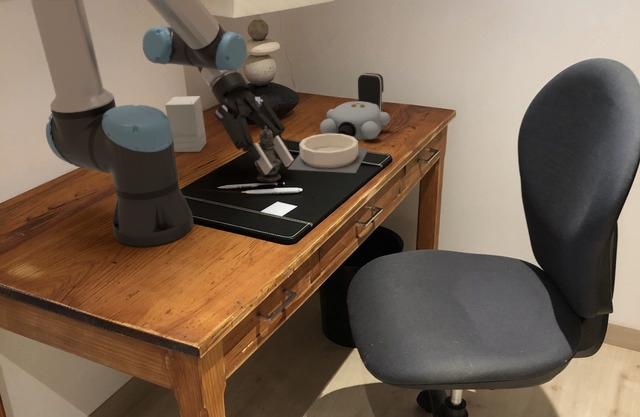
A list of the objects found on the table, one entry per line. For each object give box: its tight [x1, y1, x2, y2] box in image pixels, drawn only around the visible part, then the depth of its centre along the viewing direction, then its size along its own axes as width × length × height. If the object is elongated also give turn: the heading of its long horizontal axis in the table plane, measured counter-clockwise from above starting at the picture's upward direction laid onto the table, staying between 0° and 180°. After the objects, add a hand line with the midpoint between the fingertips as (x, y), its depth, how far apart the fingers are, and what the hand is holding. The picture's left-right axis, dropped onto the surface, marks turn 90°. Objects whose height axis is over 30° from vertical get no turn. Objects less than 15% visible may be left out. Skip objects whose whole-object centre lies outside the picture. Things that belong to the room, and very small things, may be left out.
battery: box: [357, 72, 384, 112], centre depth 190 cm, size 7×4×11 cm, turn 61°
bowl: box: [298, 133, 359, 168], centre depth 158 cm, size 13×13×4 cm
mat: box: [287, 147, 369, 174], centre depth 159 cm, size 16×16×1 cm
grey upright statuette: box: [254, 125, 282, 183], centre depth 146 cm, size 6×6×12 cm
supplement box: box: [164, 95, 207, 153], centre depth 170 cm, size 7×7×13 cm
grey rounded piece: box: [319, 100, 391, 141], centre depth 174 cm, size 17×8×20 cm
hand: (279, 167), depth 145 cm, fingers closed on grey upright statuette, 5 cm apart
